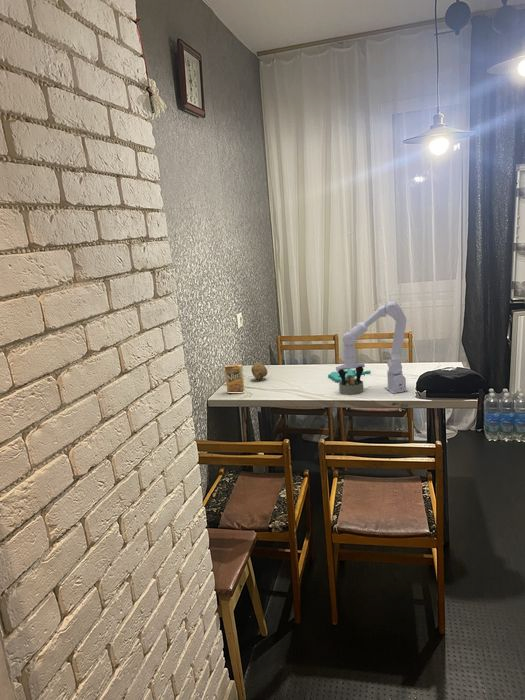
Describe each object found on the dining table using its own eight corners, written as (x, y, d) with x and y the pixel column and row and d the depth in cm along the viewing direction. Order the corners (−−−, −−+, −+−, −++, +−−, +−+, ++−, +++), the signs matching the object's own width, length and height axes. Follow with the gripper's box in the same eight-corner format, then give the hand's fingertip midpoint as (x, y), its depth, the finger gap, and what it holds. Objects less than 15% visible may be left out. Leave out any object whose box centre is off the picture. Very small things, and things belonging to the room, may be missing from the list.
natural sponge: (267, 376, 290) (265, 360, 288) (269, 381, 281) (267, 364, 279) (251, 378, 289) (250, 362, 287) (253, 383, 280) (251, 366, 278)
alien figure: (370, 374, 278) (337, 372, 288) (370, 370, 277) (337, 368, 288) (358, 385, 261) (323, 382, 272) (358, 380, 261) (323, 378, 271)
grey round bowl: (367, 392, 247) (366, 383, 246) (345, 396, 245) (344, 387, 244) (357, 386, 258) (357, 377, 257) (336, 389, 256) (335, 381, 255)
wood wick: (354, 390, 249) (354, 377, 248) (351, 390, 249) (351, 377, 247) (351, 387, 253) (350, 374, 252) (348, 388, 253) (347, 375, 251)
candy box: (227, 394, 264) (224, 366, 261) (229, 391, 268) (226, 364, 265) (243, 393, 263) (240, 365, 259) (245, 391, 267) (242, 363, 263)
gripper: (360, 352, 253) (361, 378, 256) (333, 356, 250) (334, 382, 253) (365, 355, 246) (367, 382, 249) (338, 360, 243) (339, 386, 246)
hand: (351, 382), depth 250 cm, fingers open, 7 cm apart
